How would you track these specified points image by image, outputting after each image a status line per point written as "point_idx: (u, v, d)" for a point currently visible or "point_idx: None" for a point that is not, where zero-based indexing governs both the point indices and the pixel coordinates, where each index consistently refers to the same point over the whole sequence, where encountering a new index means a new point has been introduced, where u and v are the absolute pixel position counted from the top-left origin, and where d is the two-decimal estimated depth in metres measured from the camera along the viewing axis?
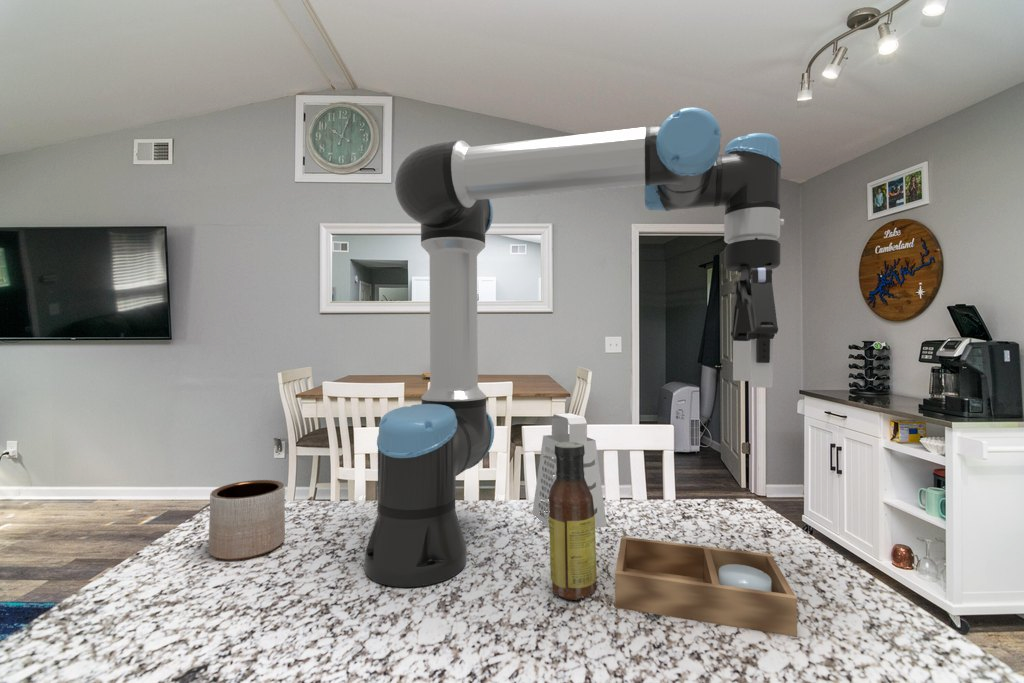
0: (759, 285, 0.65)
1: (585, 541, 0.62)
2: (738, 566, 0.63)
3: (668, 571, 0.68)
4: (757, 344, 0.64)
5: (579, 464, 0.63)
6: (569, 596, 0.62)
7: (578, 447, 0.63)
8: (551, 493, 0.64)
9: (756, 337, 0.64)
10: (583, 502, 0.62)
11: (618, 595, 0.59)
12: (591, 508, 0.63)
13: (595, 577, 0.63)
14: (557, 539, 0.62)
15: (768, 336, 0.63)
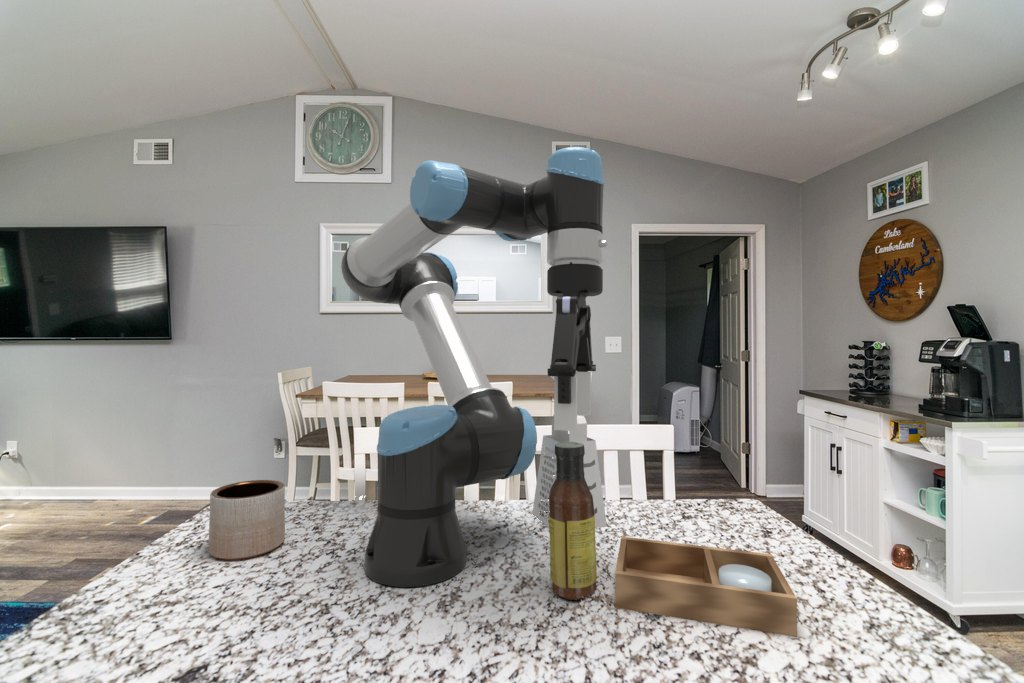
0: (562, 316, 0.58)
1: (585, 541, 0.62)
2: (738, 566, 0.63)
3: (668, 571, 0.68)
4: None
5: (579, 464, 0.63)
6: (569, 596, 0.62)
7: (578, 447, 0.63)
8: (551, 493, 0.64)
9: (556, 375, 0.57)
10: (583, 502, 0.62)
11: (618, 595, 0.59)
12: (591, 508, 0.63)
13: (595, 577, 0.63)
14: (557, 539, 0.62)
15: (566, 374, 0.56)
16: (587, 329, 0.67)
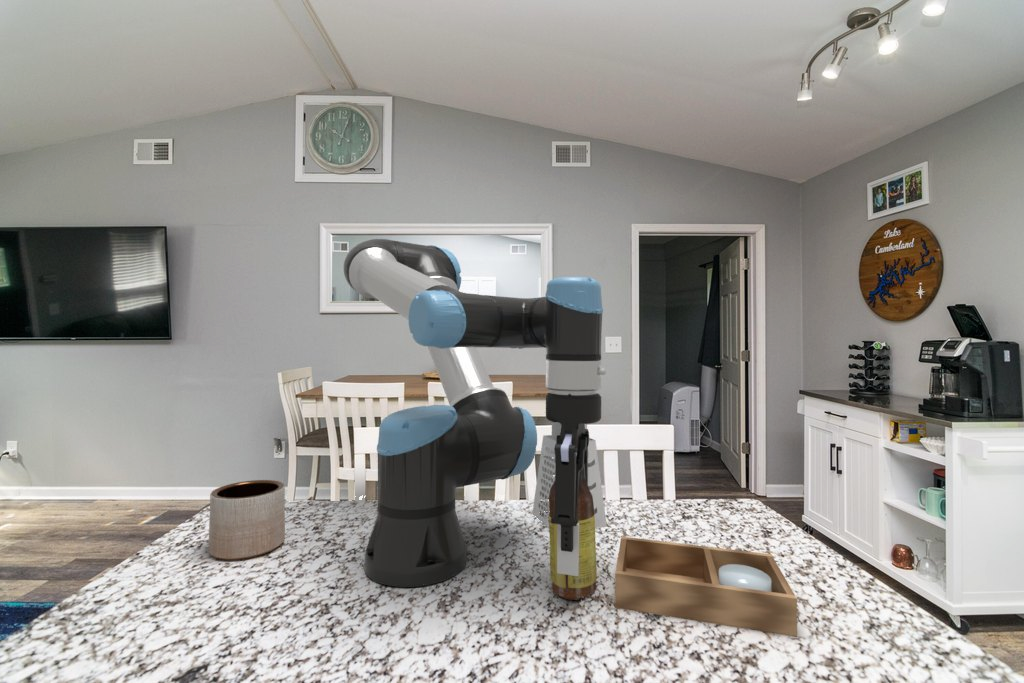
0: (562, 467, 0.59)
1: (585, 541, 0.62)
2: (738, 566, 0.63)
3: (668, 571, 0.68)
4: None
5: None
6: (569, 596, 0.62)
7: None
8: (551, 493, 0.64)
9: None
10: (583, 502, 0.62)
11: (618, 595, 0.59)
12: (591, 508, 0.63)
13: (595, 577, 0.63)
14: None
15: (569, 525, 0.59)
16: (585, 454, 0.66)
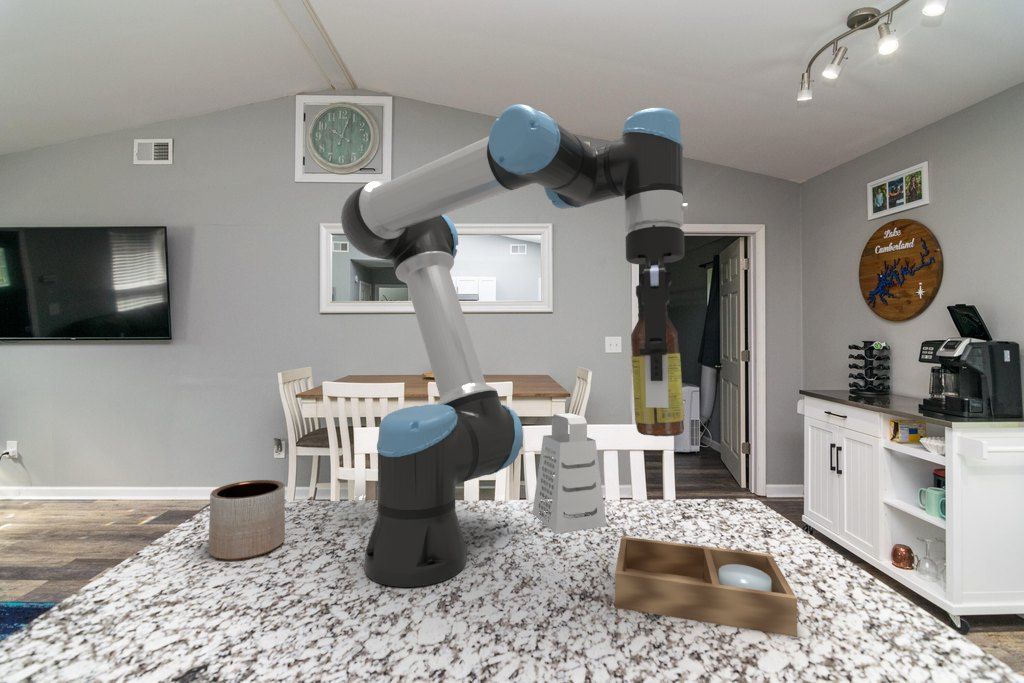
0: (651, 291, 0.57)
1: (674, 376, 0.60)
2: (738, 566, 0.63)
3: (668, 571, 0.68)
4: (650, 360, 0.59)
5: None
6: (658, 432, 0.60)
7: None
8: (634, 333, 0.63)
9: (648, 354, 0.59)
10: (670, 336, 0.60)
11: (618, 595, 0.59)
12: (677, 345, 0.61)
13: (683, 416, 0.61)
14: (644, 375, 0.61)
15: (659, 352, 0.58)
16: None
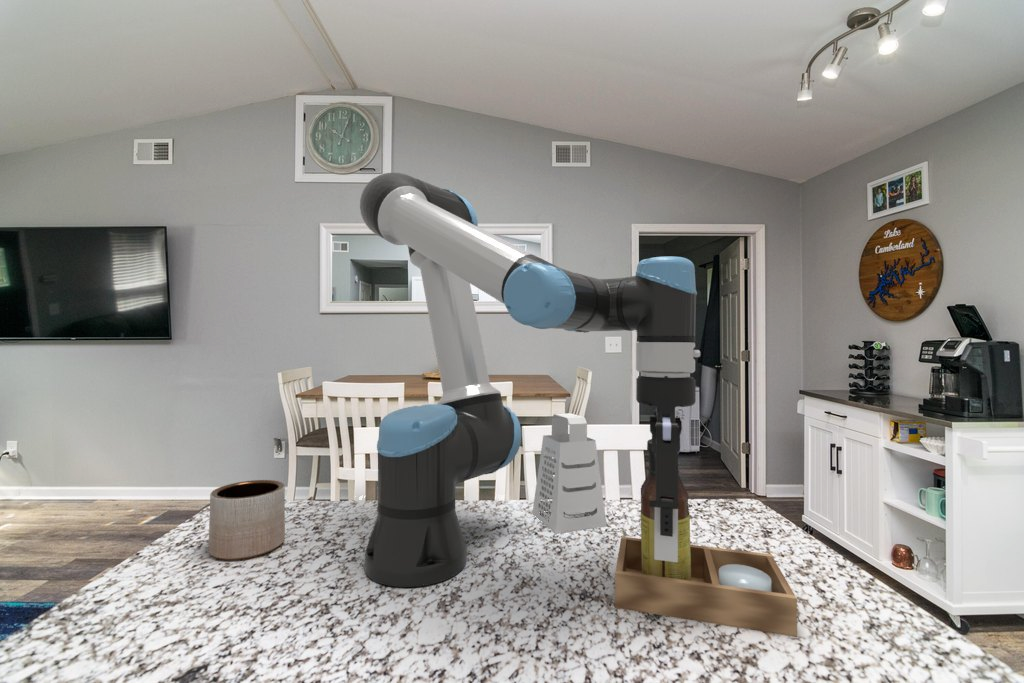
0: (663, 445, 0.57)
1: (683, 541, 0.60)
2: (738, 566, 0.63)
3: None
4: (660, 513, 0.57)
5: None
6: None
7: None
8: (645, 491, 0.62)
9: (658, 507, 0.57)
10: (680, 501, 0.60)
11: (618, 595, 0.59)
12: (687, 507, 0.61)
13: (690, 577, 0.62)
14: (653, 538, 0.61)
15: (670, 508, 0.56)
16: None
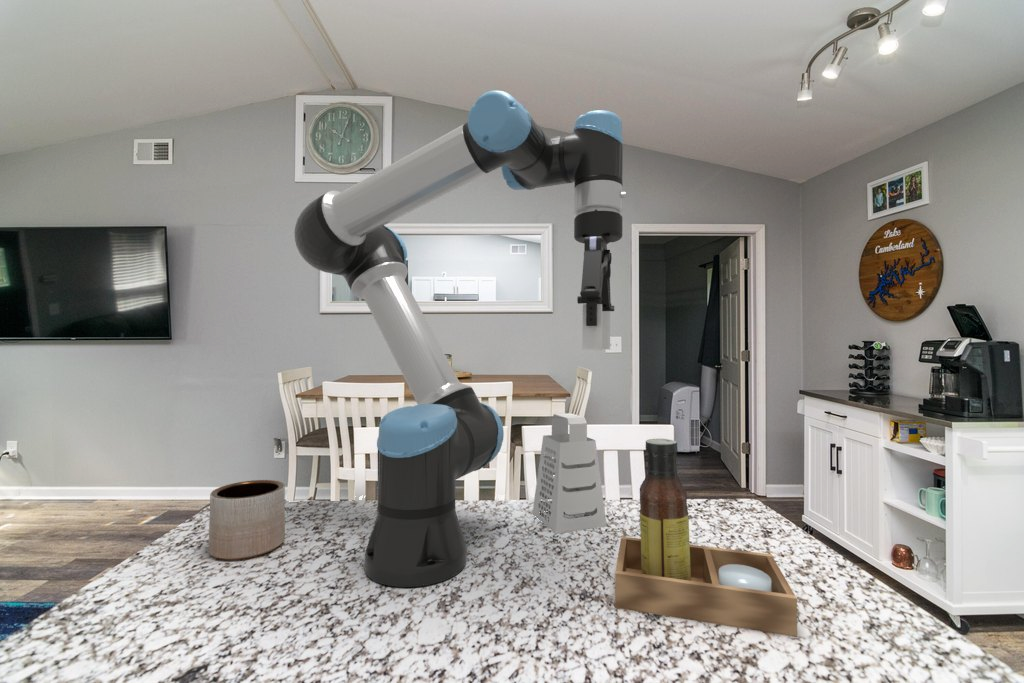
0: (589, 253, 0.68)
1: (682, 540, 0.60)
2: (738, 566, 0.63)
3: None
4: None
5: (673, 461, 0.62)
6: None
7: (672, 444, 0.62)
8: (644, 491, 0.63)
9: (585, 301, 0.67)
10: (679, 500, 0.61)
11: (618, 595, 0.59)
12: (686, 506, 0.62)
13: (690, 577, 0.62)
14: (652, 538, 0.61)
15: (593, 300, 0.66)
16: (608, 271, 0.77)
